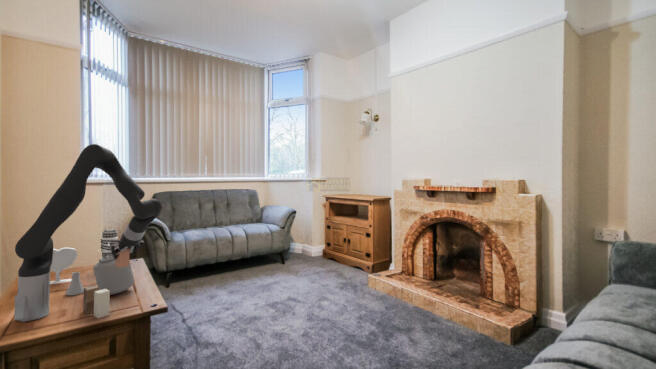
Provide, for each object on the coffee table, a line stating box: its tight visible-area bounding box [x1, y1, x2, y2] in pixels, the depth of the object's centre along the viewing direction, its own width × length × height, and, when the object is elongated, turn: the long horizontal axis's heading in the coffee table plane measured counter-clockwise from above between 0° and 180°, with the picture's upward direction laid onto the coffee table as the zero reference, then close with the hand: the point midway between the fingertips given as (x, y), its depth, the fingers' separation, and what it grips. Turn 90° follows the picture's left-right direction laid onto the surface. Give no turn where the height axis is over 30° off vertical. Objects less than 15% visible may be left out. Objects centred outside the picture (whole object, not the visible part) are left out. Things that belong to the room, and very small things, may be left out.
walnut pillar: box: [82, 285, 99, 315], centre depth 129 cm, size 4×4×10 cm
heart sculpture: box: [50, 246, 78, 285], centre depth 164 cm, size 16×5×18 cm, turn 134°
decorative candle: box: [100, 228, 120, 258], centre depth 188 cm, size 9×9×25 cm
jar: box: [92, 244, 135, 296], centre depth 151 cm, size 19×15×25 cm
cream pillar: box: [93, 289, 111, 319], centre depth 126 cm, size 4×4×10 cm
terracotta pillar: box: [116, 247, 131, 268], centre depth 140 cm, size 4×4×10 cm
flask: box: [64, 271, 85, 296], centre depth 149 cm, size 7×7×10 cm
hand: (120, 256), depth 141 cm, fingers closed on terracotta pillar, 4 cm apart
